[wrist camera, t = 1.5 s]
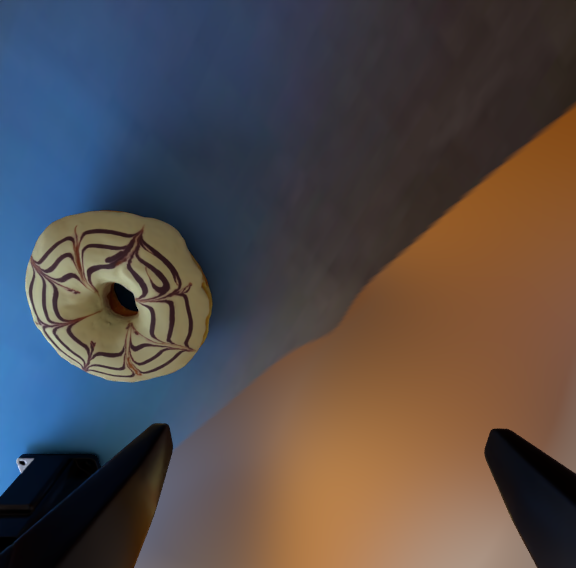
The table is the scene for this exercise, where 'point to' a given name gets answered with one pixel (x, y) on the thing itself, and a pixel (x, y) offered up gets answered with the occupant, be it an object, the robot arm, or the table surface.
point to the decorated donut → (104, 303)
